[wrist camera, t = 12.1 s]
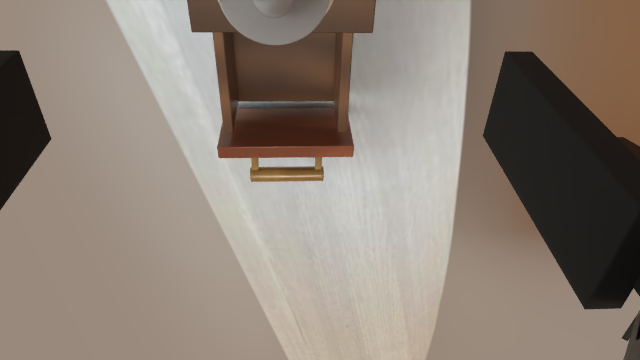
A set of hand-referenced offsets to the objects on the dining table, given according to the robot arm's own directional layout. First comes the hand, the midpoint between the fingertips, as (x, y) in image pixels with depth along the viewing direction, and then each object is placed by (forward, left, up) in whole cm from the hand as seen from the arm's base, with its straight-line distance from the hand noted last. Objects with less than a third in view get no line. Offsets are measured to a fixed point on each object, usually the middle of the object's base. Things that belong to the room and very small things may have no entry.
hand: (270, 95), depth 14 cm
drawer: (+13, 0, -30) cm, 33 cm away
